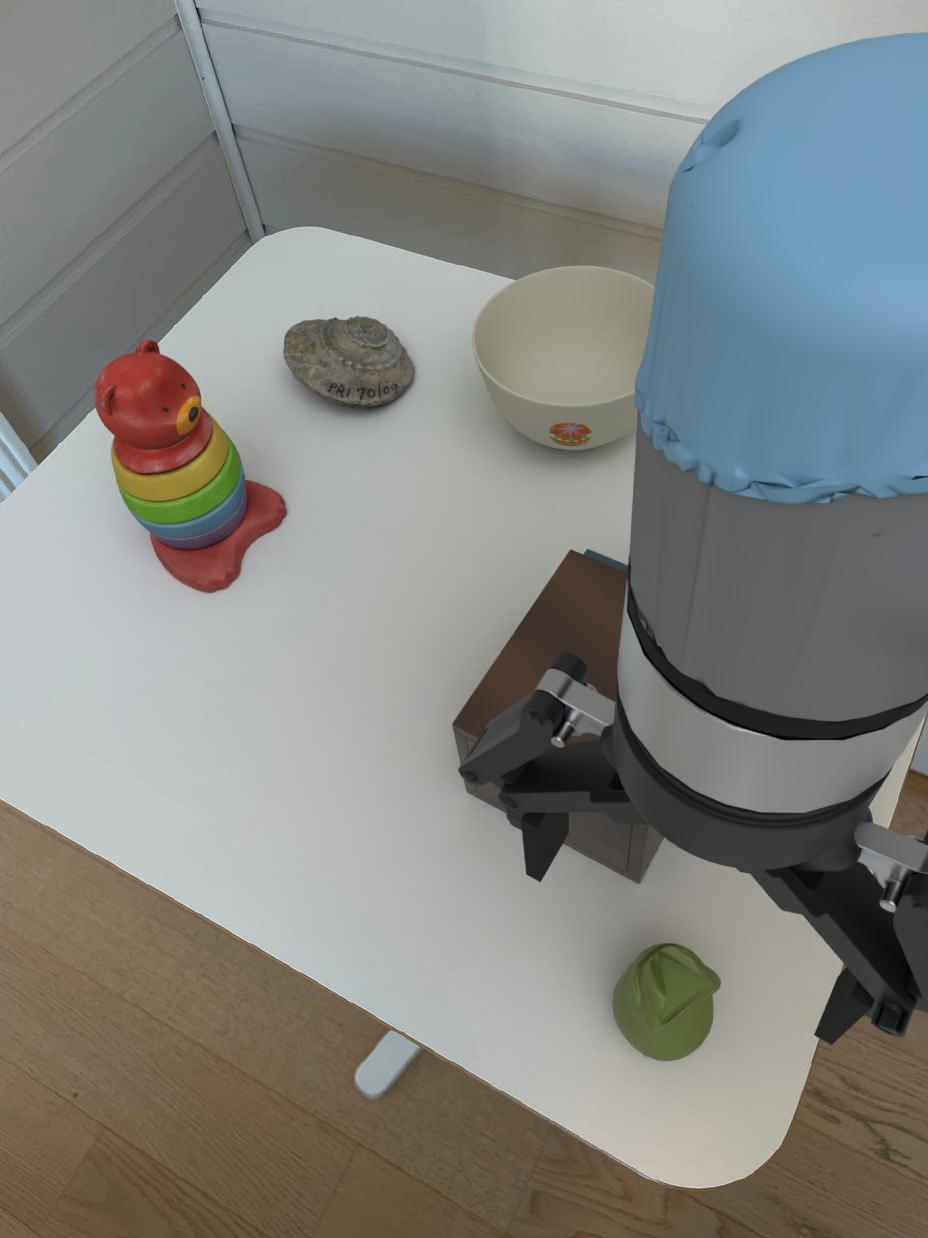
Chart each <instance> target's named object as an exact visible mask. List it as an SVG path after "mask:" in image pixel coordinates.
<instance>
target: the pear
mask: <svg viewBox="0 0 928 1238" xmlns="http://www.w3.org/2000/svg"><path fill="white" fill-rule="evenodd" d="M721 985H722V980H721V978H720V976H719V975H718V973H717V972H715V971H714V970H713V969H712V968H710V967H709V966H707V965H706V964H705V963H704V962H703V961H702V959H701V958H700V957H699V956H698V954H697V953H695V952H694V951H693V950H691V949H689V948H688V947H686V946H684V945H681V944H679V943H673V942H663V943H657V944H654V945H651V946H649V947H648V948H646V949H644V950H643V951H642V952H641V953H640V954H639V955H638V956H637V957H636V958H635V960H634V961H633V962H632V963H631V964H630V965H629V966H628V967H627V968H626V970H625V971H624V972H623V974H622V975H621V976H620V978H619V979H618V981H617V983H616V984H615V986H614V989H613V995H612V1013H613V1016H614V1020H615V1022H616V1025H617V1027H618V1028H619V1030H620V1032H621V1034H622V1035H623V1036H624V1038H625V1039H626V1040H627V1042H628V1044H630V1045H631V1046H632V1048H634V1049H635V1050H637V1052H639V1053H640V1054H642V1055H644V1056H645V1057H646V1058H647V1057H648V1058H649V1059H652V1060H655V1061H659V1062H672V1061H677V1060H681V1059H683V1058H685V1057H688V1056H690V1055H691V1054H693V1053H694V1052H696V1050H697V1049H699V1047H701V1046H702V1044H703V1043H704V1042H705V1041H706V1039H707V1037H708V1035H709V1033H710V1031H711V1029H712V1025H713V1021H714V1010H715V1009H714V1008H715V1007H714V997H713V995H714V994H715V993H717V991H719V990H720V988H721Z"/></svg>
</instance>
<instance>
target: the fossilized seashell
mask: <svg viewBox="0 0 928 1238" xmlns="http://www.w3.org/2000/svg"><path fill="white" fill-rule="evenodd" d="M283 339H284V340H283V349H282V350H283V359H284V360H285V364H286V366H287V367H288V369H289V371H290V372H291V373H292V375H293V376H294V378H296V379H297V380H298V382H300V383H301V385H303V386H304V387H306V389H308V390H310V391H311V392H312V393H314V394H316V395H317V396H319V397H320V398H323V399H325V400H327V401H330V402H331V403H333V404H336V405H339V406H343V407H352V408H353V407H366V408H367V407H368V408H373V407H378V406H381V405H384V404H388V403H390V402H392V401H394V400H395V399H396V398H398V397H399V396H400V395H402V394H403V393H404V392H405V391H406V390H407V388H409V386H410V385H411V384H412V382H413V381H414V373H415V371H416V367H415V365H414V362H413V360H412V359H411V357H410V356H409V353H408V350H407V348H406V347H405V346H404V345H403V344H402V343H401V342H400V337H399V336H397V335H396V334H395V331H394V330H392V329H391V328H389V327H388V326H387V325H386V324H385V323H383V322H381V321H380V320H378V319H376V318H371V317H369V316H361V315H360V316H359V315H356V316H354V317H353V316H351V317H349V318H348V319H340V318H337V317H335V316H334V317H333V318H328V319H320V318H316V319H306V320H305V319H304V320H302V321H300V322H297V323H295V324H294V325H292V326H290V327H289V328H288V329H287V331H285V334H284V338H283Z"/></svg>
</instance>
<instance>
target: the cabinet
mask: <svg viewBox="0 0 928 1238" xmlns="http://www.w3.org/2000/svg"><path fill="white" fill-rule="evenodd" d="M626 583H627V572H625V571H622V570H620V569H617V568H615V567H612V566H610V565H608V564H605V563H603V562H600V561H598V560H596V559H593V558H591V557H588V556H586V555H584V553H582V552H578V551H576V550H574V549H569V551H567V554H566V555H565V557H564V558H563V559H562V561H561V563H559V565H558V567H557V568H556V569H555V571H554V573H553V574H552V576H551V577H550V579H549V580H548V582H547V583H546V584H545V586H544V588H543V589H542V590H541V592H540V593H539V594H538V596H537V598H536V599H535V600H534V602H533V604H532V605H531V606H530V608H529V609H528V611H527V612H526V614H525V616H524V617H523V619H522V620H521V621H520V623H519V624H518V626H517V627H516V628H515V630H514V631H513V633H512V634H511V636H510V637H509V639H508V640H507V642H506V644H505V645H504V646H503V648H502V649H501V651H500V652H499V654H498V655H497V656H496V658H495V660H494V661H493V663H492V664H491V665H490V667H489V669H488V670H487V672H486V673H485V674H484V676H483V677H482V679H480V680H481V681H480V682H479V683H478V685H477V686H476V688H475V689H474V691H473V692H472V694H471V695H470V697H469V698H468V700H467V701H466V703H465V704H464V705H463V707H462V708H461V710H460V711H459V713H458V714H457V716H456V717H455V719H454V720H453V722H452V723H451V725H452V730H453V735H454V736H453V737H454V740H455V741H454V742H455V745H456V750H457V753H458V758H459V763H460V765H461V764H462V762H463V761H464V759H465V758H466V756H467V755H468V753H469V752H470V750H471V749H472V747H473V746H474V744H475V743H476V741H477V740H478V738H479V737H480V735H481V734H482V732H483V731H484V729H485V728H486V726H487V725H488V723H489V722H490V721H491V720H493V719H494V718H495V717H497V716H498V715H500V714H501V713H503V712H504V711H506V710H507V709H508V708H510V707H511V706H513V705H514V704H516V703H517V702H518V701H520V700H521V699H523V698H524V697H526V696H527V695H528V694H530V693H531V692H533V691H534V690H535V688H536V687H537V685H538V684H539V682H540V680H541V679H542V677H543V676H544V674H545V673H546V671H547V670H548V668H549V667H550V665H551V664H552V662H553V661H554V659H555V657H556V656H557V654H558V653H559V652H568V653H571V654H573V655H575V656H577V657H579V658H580V659H581V660H582V661H583V662H584V663H585V664H586V666H587V667H588V675H587V679H586V683H588V684H590V685H592V686H594V687H595V688H596V690H597V693H599V694H601V695H603V696H605V697H607V698H609V699H610V700H612V701H614V702H615V701H616V689H617V680H618V673H617V665H618V656H619V647H620V638H621V629H622V619H623V610H624V601H625V592H626ZM593 740H600V737H599V736H597V735H594V734H590V733H585V734H583V735H582V736H580V737H576V736H571V737H570V739H569V740H568V742H567V743H574V742H584V741H593ZM551 745H553V744H552V743H551ZM463 781H464V787H465V790H466V793H468V794H470V795H471V796H474V797H475V798H477V799H479V800H480V801H483V802H485V803H486V804H488V805H490V806H492V807H494V808H496V809H498V810H499V811H501V812H504V813H505V814H507V813H506V807H505V806H504V805H503V804H502V803H501V802H500V801H499V799H498V798H497V795H498V794H499V792H500V789H499V788H498V787H496V786H495V785H494V784H492V783H491V782H489V783H487V784H485V785H483V786H478V785H475V784H472V783H469V782H468V781H466V780H465V779H464V778H463ZM664 839H665V838H664V837H663V836H662V835H660V834H659V833H658V832H657V831H656V830H655V829H654V828H653V827H651V826H650V825H629V824H614V823H613V822H612V821H611V820H610V819H609V818H608V817H607V816H605V815H604V814H603V813H602V812H598V813H569V834H568V836H567V838H566V839H565V841H564V843H563V844H562V845H565V846H567V847H569V848H570V849H572V850H574V851H577V852H578V853H579V854H582V855H583V856H585V857H587V858H589V859H591V860H593V861H595V862H597V863H599V864H600V865H602V866H605V867H606V868H608V869H610V870H612V871H614V872H615V873H617V874H619V875H621V876H623V877H624V878H627V879H628V880H630V881H632V882H634V883H636V884H638V885H640V884H641V882H642V880H643V879H644V877H645V875H646V873H647V870H648V869H649V867H650V865H651V863H652V861H653V859H654V857H655V855H656V854H657V852H658V850H659V848H660V846H661V844H662V843H663V840H664Z"/></svg>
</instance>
